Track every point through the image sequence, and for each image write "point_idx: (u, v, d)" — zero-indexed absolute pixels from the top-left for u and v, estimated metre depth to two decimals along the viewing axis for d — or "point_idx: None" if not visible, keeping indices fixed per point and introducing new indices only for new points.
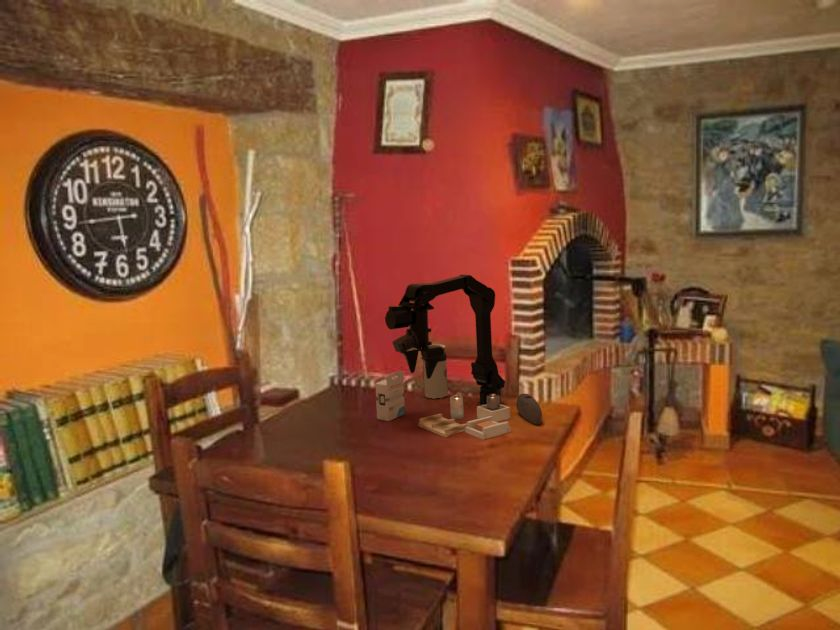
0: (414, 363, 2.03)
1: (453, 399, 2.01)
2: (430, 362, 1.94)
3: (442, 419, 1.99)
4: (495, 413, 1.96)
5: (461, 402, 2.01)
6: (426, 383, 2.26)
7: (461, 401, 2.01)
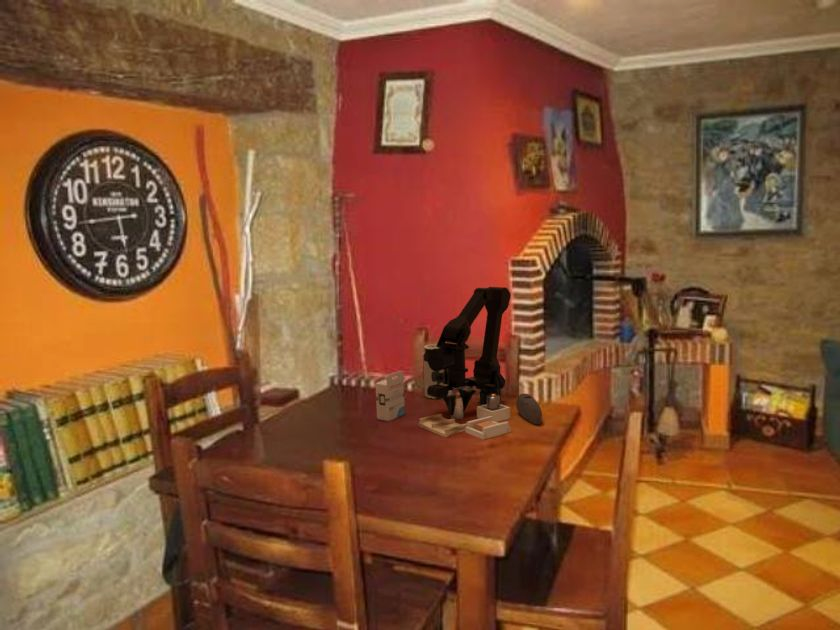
0: (463, 404, 2.03)
1: None
2: (448, 399, 2.00)
3: (442, 419, 1.99)
4: (495, 413, 1.96)
5: (461, 402, 2.01)
6: (426, 383, 2.26)
7: (461, 401, 2.01)
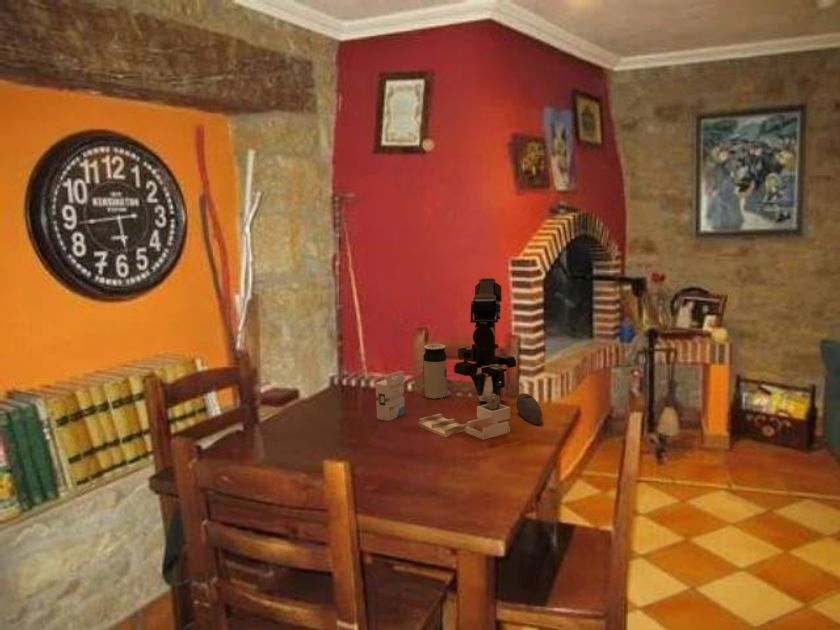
0: (493, 383, 1.87)
1: None
2: (476, 378, 1.84)
3: (442, 419, 1.99)
4: (495, 413, 1.96)
5: (491, 381, 1.85)
6: (426, 383, 2.26)
7: (491, 380, 1.85)
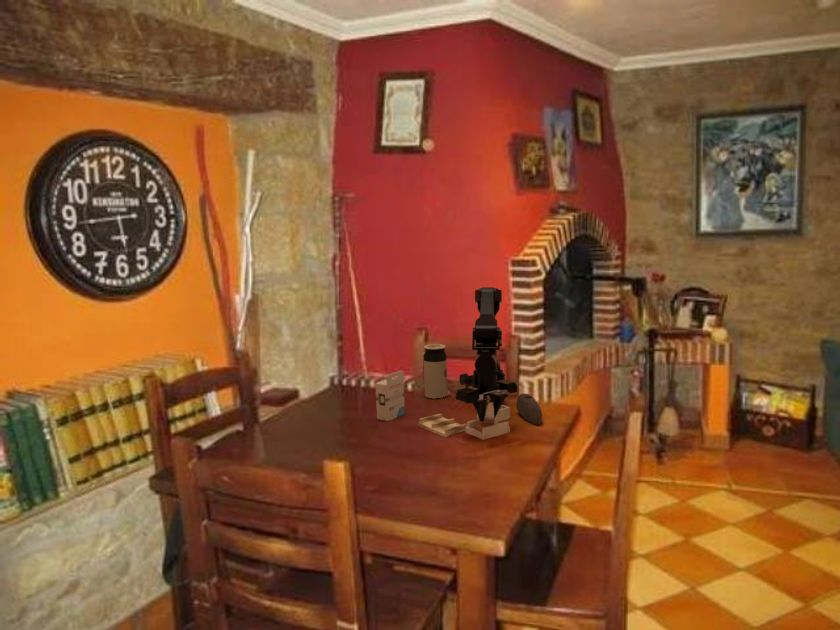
0: (494, 409, 1.88)
1: None
2: (478, 404, 1.85)
3: (442, 419, 1.99)
4: None
5: (492, 407, 1.86)
6: (426, 383, 2.26)
7: (492, 406, 1.86)
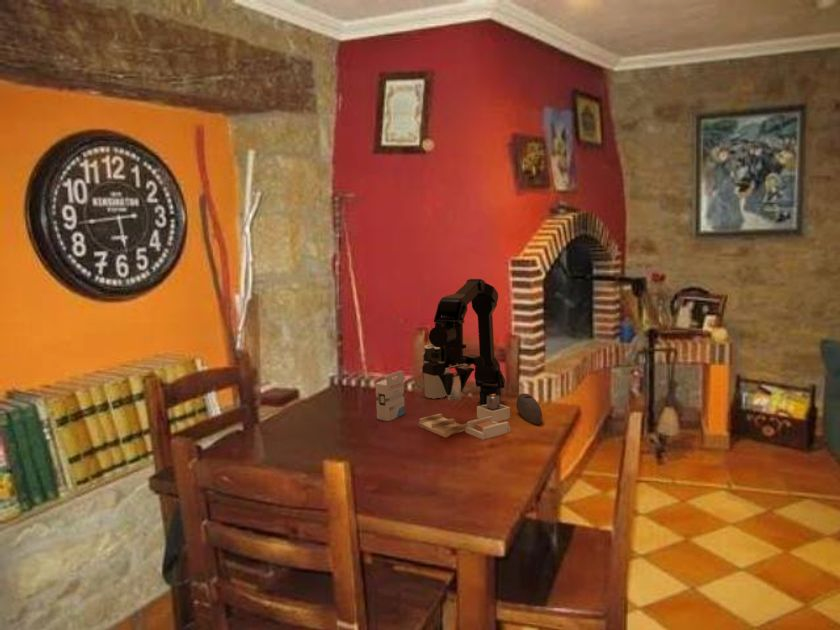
0: (461, 383, 1.89)
1: None
2: (444, 378, 1.86)
3: (442, 419, 1.99)
4: (495, 413, 1.96)
5: (459, 381, 1.87)
6: (426, 383, 2.26)
7: (459, 380, 1.87)
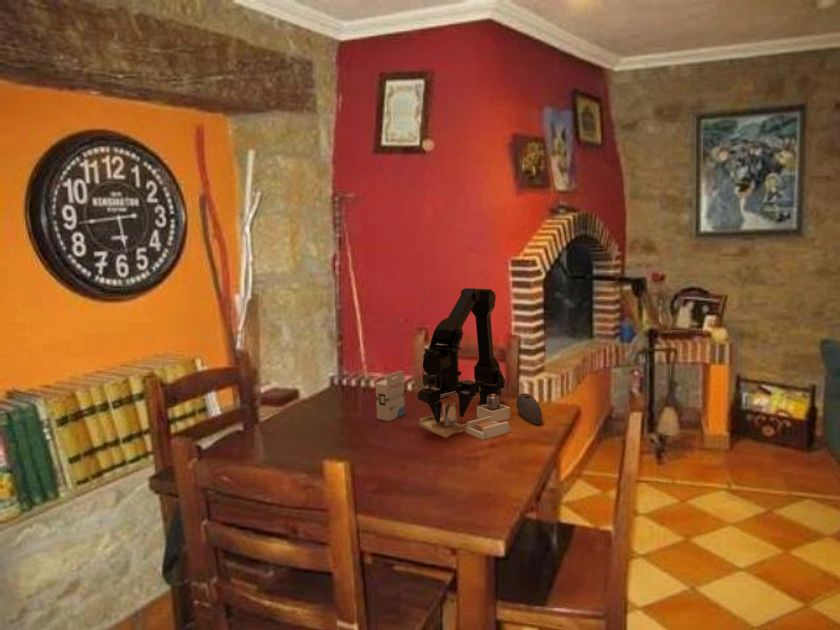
0: (462, 408, 1.92)
1: (446, 407, 1.89)
2: (434, 406, 1.87)
3: (442, 419, 1.99)
4: (495, 413, 1.96)
5: (454, 410, 1.89)
6: None
7: (454, 409, 1.89)
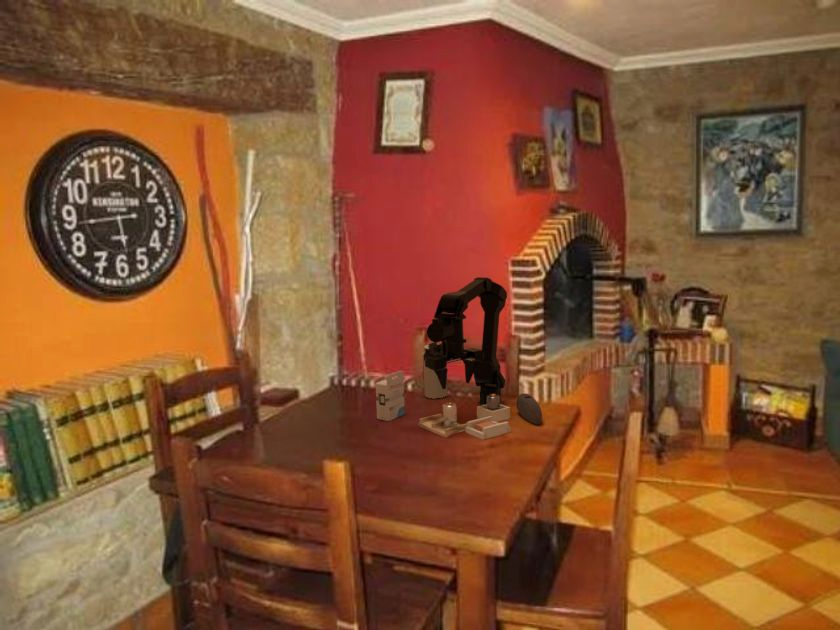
0: (468, 374, 2.00)
1: (446, 407, 1.89)
2: (440, 373, 1.94)
3: (442, 419, 1.99)
4: (495, 413, 1.96)
5: (454, 410, 1.89)
6: (426, 383, 2.26)
7: (454, 409, 1.89)
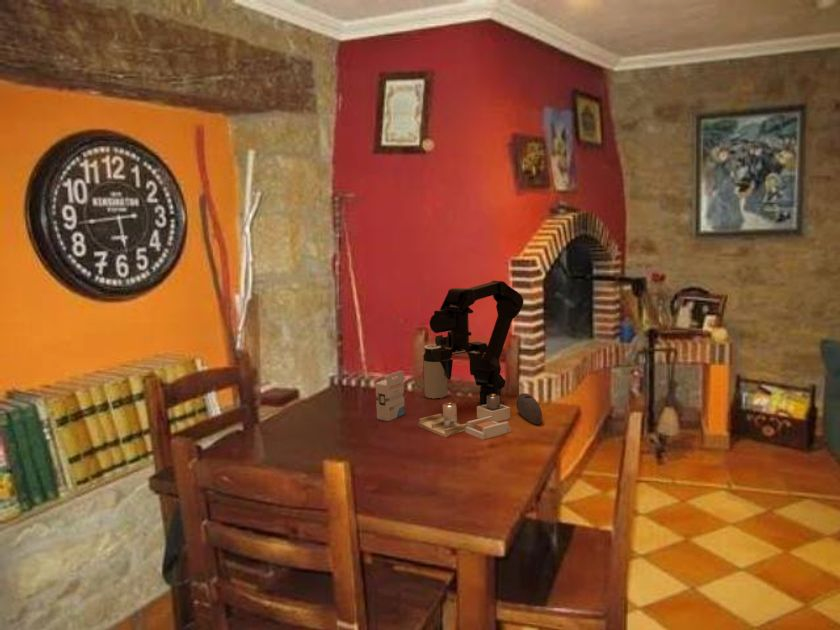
0: (473, 366, 2.07)
1: (446, 407, 1.89)
2: (445, 364, 2.02)
3: (442, 419, 1.99)
4: (495, 413, 1.96)
5: (454, 410, 1.89)
6: (426, 383, 2.26)
7: (454, 409, 1.89)
